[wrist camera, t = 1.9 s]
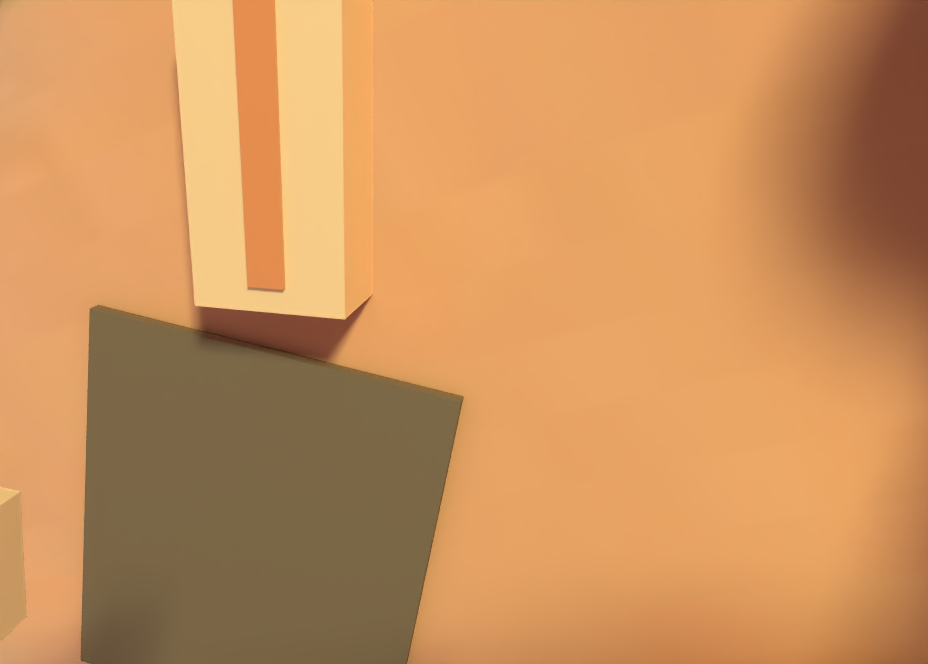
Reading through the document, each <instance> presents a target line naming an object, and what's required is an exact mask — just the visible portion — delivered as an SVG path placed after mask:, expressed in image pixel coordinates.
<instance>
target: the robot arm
mask: <svg viewBox="0 0 928 664" xmlns="http://www.w3.org/2000/svg"><path fill="white" fill-rule="evenodd" d="M26 617H27V610H26V590H25V570H24V550H23V531H22V511H21V491H16V490H12V489H8V488H4V487H0V641H1V640H3V639H4V638H5V637H6V636H7V635H8V634H9V633H10V632H11V631H12V630H13V629H14V628H15V627H17V626H18V625H19V624H20V623H21V622H22V621H23V620H24V619H25V618H26Z"/></svg>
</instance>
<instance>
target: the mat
mask: <svg viewBox="0 0 928 664" xmlns="http://www.w3.org/2000/svg"><path fill="white" fill-rule="evenodd" d="M462 401H463V396H459V395H455V394H451V393H447V392H443V391H439V390H435V389H431V388H427V387H423V386H419V385H415V384H411V383H407V382H403V381H399V380H395V379H391V378H387V377H383V376H379V375H375V374H371V373H367V372H363V371H359V370H355V369H351V368H347V367H343V366H339V365H335V364H331V363H327V362H323V361H319V360H315V359H311V358H307V357H303V356H299V355H295V354H291V353H287V352H283V351H279V350H275V349H271V348H267V347H263V346H259V345H255V344H251V343H247V342H243V341H239V340H235V339H231V338H227V337H223V336H219V335H215V334H211V333H207V332H203V331H199V330H195V329H191V328H187V327H183V326H179V325H175V324H171V323H167V322H163V321H159V320H155V319H151V318H147V317H143V316H139V315H135V314H131V313H127V312H123V311H119V310H115V309H111V308H107V307H103V306H99V305H98V306H95V307H93V308H91V309H90V321H89V360H88V398H87V437H86V476H85V515H84V554H83V593H82V632H81V661H84V662H88V663H91V664H407V661H408V656H409V651H410V647H411V642H412V637H413V633H414V628H415V623H416V618H417V614H418V609H419V604H420V600H421V595H422V590H423V585H424V581H425V576H426V571H427V566H428V562H429V557H430V552H431V548H432V543H433V538H434V533H435V529H436V524H437V519H438V514H439V510H440V505H441V500H442V496H443V491H444V486H445V481H446V477H447V472H448V467H449V463H450V458H451V453H452V448H453V444H454V439H455V434H456V429H457V425H458V420H459V415H460V411H461V406H462Z"/></svg>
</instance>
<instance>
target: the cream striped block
mask: <svg viewBox="0 0 928 664" xmlns="http://www.w3.org/2000/svg"><path fill="white" fill-rule="evenodd" d="M172 9H173V22H174V35H175V49H176V62H177V75H178V88H179V102H180V115H181V128H182V142H183V155H184V168H185V181H186V195H187V208H188V221H189V234H190V248H191V261H192V274H193V288H194V301H195V306H202V307H213V308H224V309H235V310H246V311H257V312H268V313H280V314H291V315H302V316H313V317H324V318H335V319H346V318H347V317H348V316H349V315H350V314H351V313H353V312H354V311H355V310H356V309H357V308H358V307H359V306H360V305H361V304H362V303H364V302H365V301H366V300H367V299H368V298H369V297H370V296H371V295H372V294H373V0H172Z"/></svg>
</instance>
